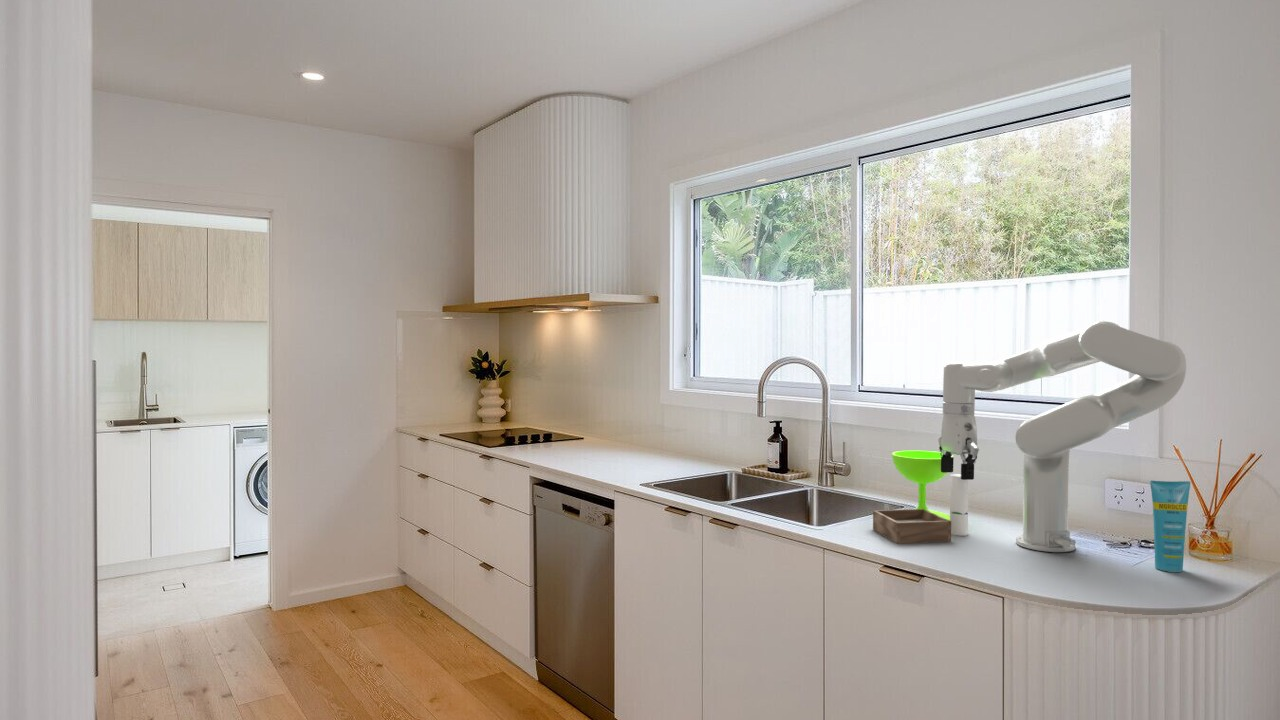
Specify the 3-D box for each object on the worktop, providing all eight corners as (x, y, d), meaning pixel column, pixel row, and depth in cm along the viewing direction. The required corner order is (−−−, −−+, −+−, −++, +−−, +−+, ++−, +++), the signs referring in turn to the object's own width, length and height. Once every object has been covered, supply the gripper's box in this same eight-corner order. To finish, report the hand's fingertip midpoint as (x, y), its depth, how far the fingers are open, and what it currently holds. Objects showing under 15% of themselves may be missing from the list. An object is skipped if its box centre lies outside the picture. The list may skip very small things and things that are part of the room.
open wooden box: (951, 541, 184) (951, 521, 184) (897, 543, 183) (897, 523, 183) (923, 527, 198) (923, 508, 198) (873, 529, 197) (873, 510, 197)
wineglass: (880, 514, 214) (880, 451, 214) (928, 511, 218) (928, 449, 218) (915, 527, 198) (915, 460, 198) (966, 523, 203) (966, 457, 202)
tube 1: (946, 531, 194) (946, 474, 194) (962, 531, 194) (962, 473, 194) (955, 535, 190) (955, 477, 189) (971, 535, 190) (971, 476, 190)
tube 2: (1156, 572, 159) (1156, 482, 158) (1144, 565, 164) (1145, 478, 163) (1194, 573, 158) (1195, 483, 157) (1181, 566, 162) (1182, 478, 162)
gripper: (991, 413, 183) (990, 482, 184) (954, 406, 201) (952, 469, 201) (962, 413, 183) (961, 482, 183) (927, 406, 200) (926, 469, 200)
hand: (956, 475), depth 192 cm, fingers open, 9 cm apart
